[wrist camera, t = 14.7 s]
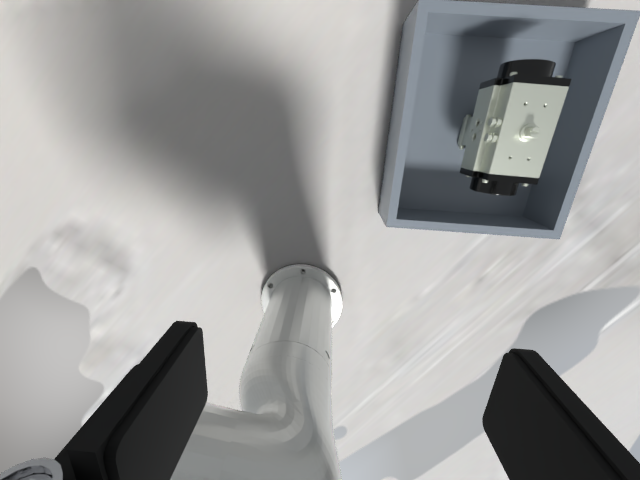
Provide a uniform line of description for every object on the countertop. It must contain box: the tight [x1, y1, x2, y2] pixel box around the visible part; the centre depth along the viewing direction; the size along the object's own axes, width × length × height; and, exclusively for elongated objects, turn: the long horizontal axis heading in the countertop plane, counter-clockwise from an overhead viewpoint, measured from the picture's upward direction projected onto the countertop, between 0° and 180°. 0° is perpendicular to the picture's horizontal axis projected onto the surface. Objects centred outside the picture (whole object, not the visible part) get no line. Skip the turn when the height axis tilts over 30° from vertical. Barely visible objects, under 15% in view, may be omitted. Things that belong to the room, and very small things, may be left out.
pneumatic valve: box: [458, 59, 572, 196], centre depth 31 cm, size 6×12×12 cm, turn 176°
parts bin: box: [378, 0, 640, 239], centre depth 34 cm, size 22×20×7 cm
